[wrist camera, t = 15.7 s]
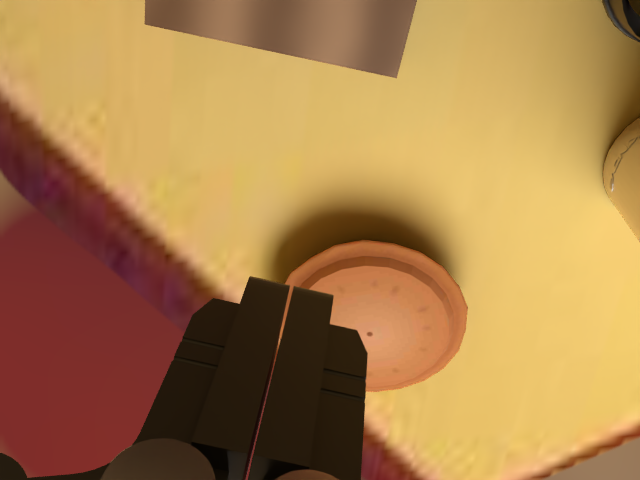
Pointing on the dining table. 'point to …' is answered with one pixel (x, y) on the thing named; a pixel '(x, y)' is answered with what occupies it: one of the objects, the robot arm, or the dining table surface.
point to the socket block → (299, 27)
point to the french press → (623, 17)
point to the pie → (389, 307)
